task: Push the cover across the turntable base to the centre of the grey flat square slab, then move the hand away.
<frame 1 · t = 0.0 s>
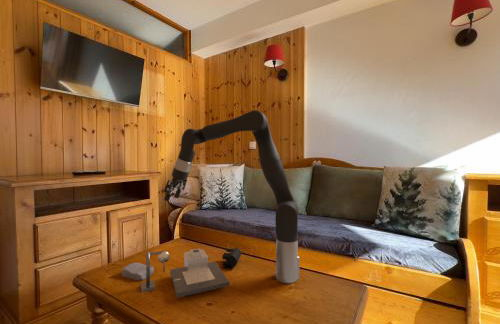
hand: (171, 199, 120), 31 cm above the table, tool tilted 20°, fingers open, 8 cm apart
cover: (195, 270, 105), point 4 cm above the table, touching grey flat square slab
dial indicator stand: (148, 287, 97), on the table
stone block: (139, 274, 109), on the table
turntable base: (198, 283, 101), on the table
end cap: (232, 265, 119), on the table
grey flat square slab: (198, 277, 101), point 3 cm above the table, hinge at 0.0°, touching cover
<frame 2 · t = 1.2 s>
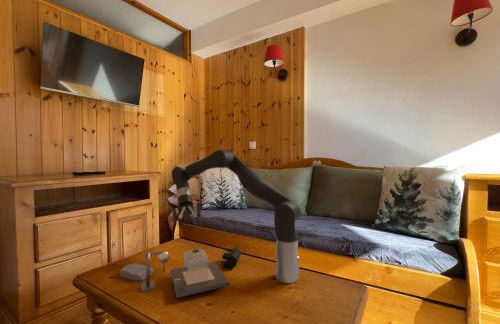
hand: (188, 226, 119), 19 cm above the table, tool tilted 45°, fingers open, 6 cm apart
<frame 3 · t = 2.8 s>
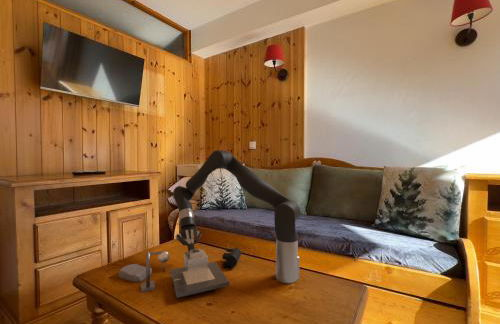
hand: (191, 252, 113), 8 cm above the table, tool tilted 45°, fingers closed
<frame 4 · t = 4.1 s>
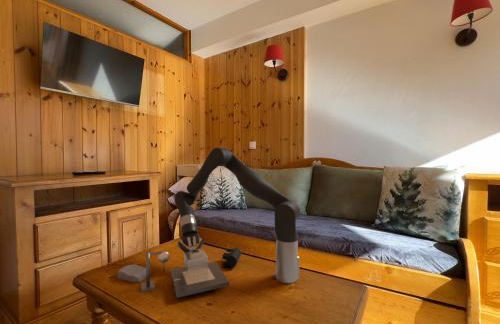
hand: (193, 260, 109), 6 cm above the table, tool tilted 45°, fingers closed
cover: (196, 270, 105), point 4 cm above the table, touching gripper
grey flat square slab: (198, 277, 101), point 3 cm above the table, hinge at 0.0°
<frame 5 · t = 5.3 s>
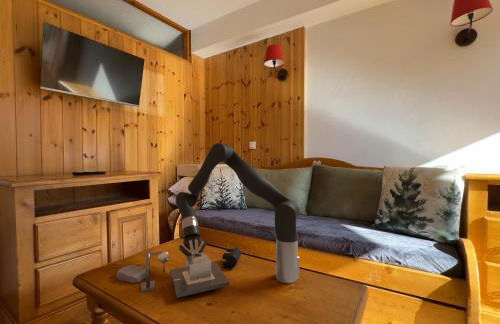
hand: (196, 264, 105), 6 cm above the table, tool tilted 45°, fingers closed
cover: (198, 275, 100), point 4 cm above the table, touching gripper, grey flat square slab
grey flat square slab: (198, 277, 101), point 3 cm above the table, hinge at 0.0°, touching cover
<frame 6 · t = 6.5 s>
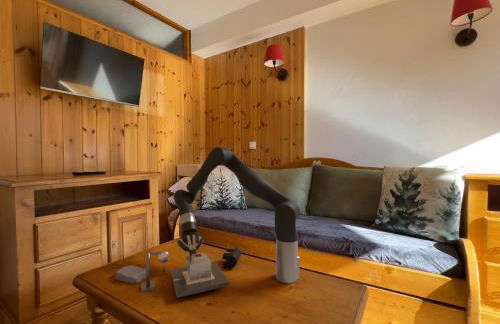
hand: (193, 258, 109), 7 cm above the table, tool tilted 45°, fingers closed
cover: (198, 275, 100), point 4 cm above the table, touching grey flat square slab
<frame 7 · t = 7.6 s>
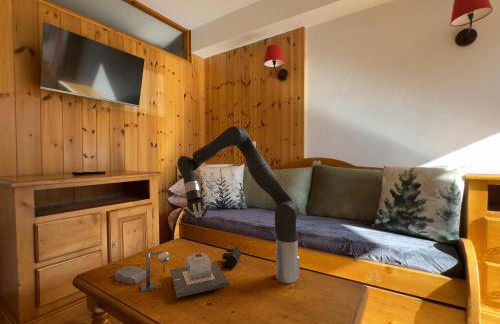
hand: (200, 226, 112), 21 cm above the table, tool tilted 35°, fingers closed
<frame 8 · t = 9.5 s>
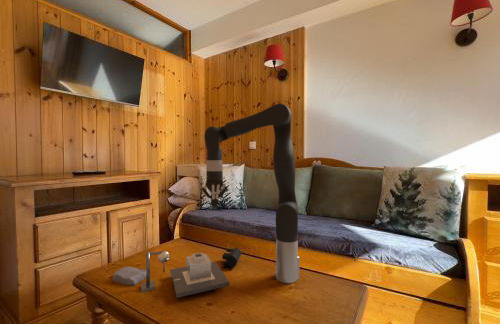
hand: (214, 206, 114), 29 cm above the table, tool pointing down, fingers closed
at the end: cover 0.3 cm from the grey flat square slab (horizontally); cover tilted 0°; cover 0.3 cm off-centre on the grey flat square slab, point 3.5 cm above the grey flat square slab's base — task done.
